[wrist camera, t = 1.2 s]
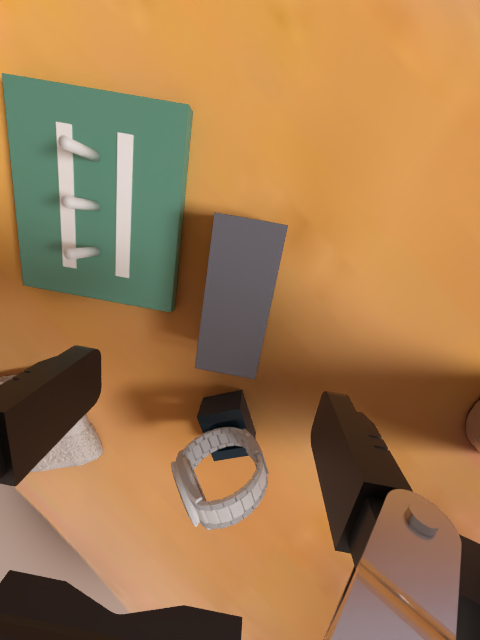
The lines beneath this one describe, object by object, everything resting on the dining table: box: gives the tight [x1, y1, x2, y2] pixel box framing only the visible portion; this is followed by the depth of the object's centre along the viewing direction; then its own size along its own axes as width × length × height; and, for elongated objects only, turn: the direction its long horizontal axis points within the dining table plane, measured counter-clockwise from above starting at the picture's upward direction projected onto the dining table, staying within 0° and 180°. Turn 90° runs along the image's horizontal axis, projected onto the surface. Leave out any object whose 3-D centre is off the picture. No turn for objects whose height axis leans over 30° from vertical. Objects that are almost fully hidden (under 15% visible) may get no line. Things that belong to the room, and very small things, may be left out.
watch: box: [171, 390, 268, 530], centre depth 24 cm, size 6×8×11 cm
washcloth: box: [0, 374, 103, 472], centre depth 31 cm, size 12×18×3 cm, turn 103°
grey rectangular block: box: [195, 213, 288, 379], centre depth 22 cm, size 12×5×5 cm, turn 170°
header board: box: [2, 73, 193, 312], centre depth 21 cm, size 14×16×5 cm
